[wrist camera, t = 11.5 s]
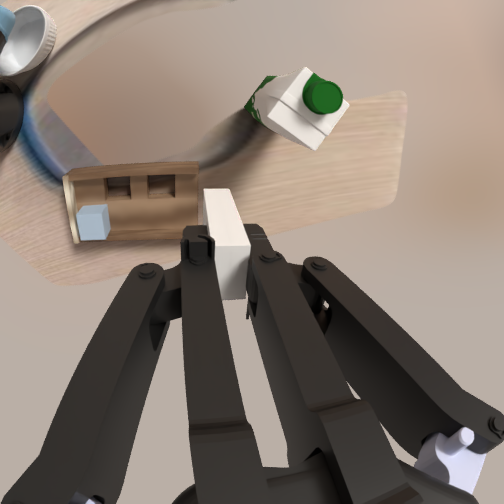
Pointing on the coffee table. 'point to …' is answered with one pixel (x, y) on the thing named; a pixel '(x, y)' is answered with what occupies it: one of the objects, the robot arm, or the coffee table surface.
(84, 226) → the blue block
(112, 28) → the coffee table surface
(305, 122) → the milk carton
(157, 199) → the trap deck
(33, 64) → the ramekin
